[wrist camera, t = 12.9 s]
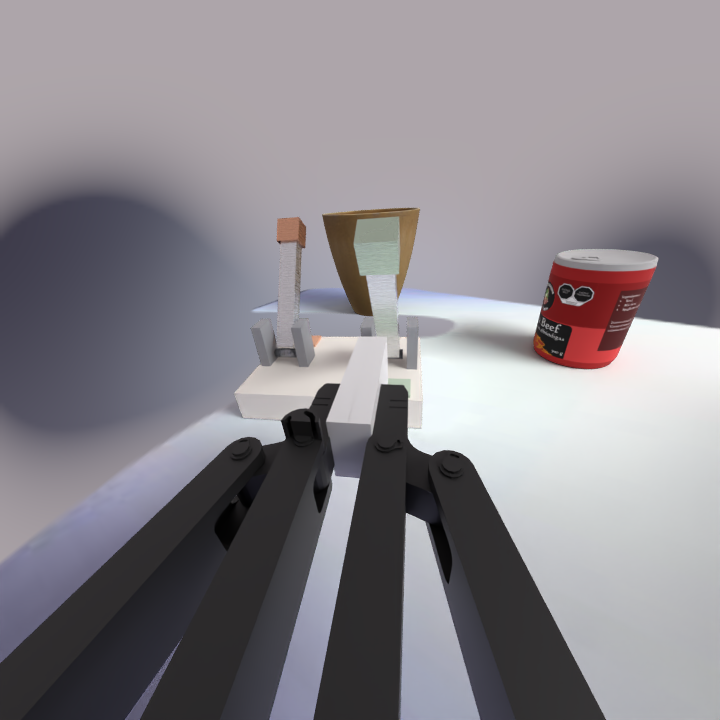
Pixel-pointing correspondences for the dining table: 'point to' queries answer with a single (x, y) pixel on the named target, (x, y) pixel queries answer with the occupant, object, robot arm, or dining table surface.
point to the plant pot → (343, 252)
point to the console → (320, 370)
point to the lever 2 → (381, 275)
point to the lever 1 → (289, 282)
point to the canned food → (591, 305)
